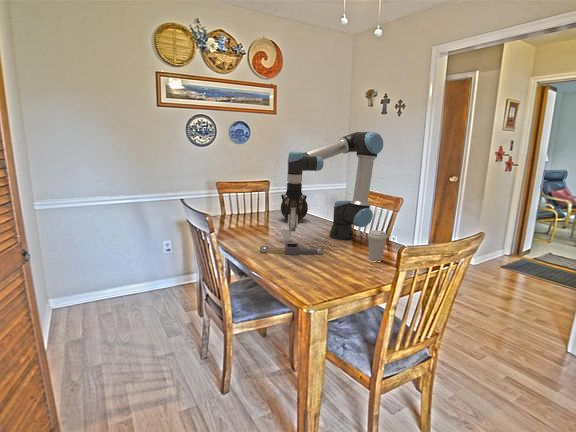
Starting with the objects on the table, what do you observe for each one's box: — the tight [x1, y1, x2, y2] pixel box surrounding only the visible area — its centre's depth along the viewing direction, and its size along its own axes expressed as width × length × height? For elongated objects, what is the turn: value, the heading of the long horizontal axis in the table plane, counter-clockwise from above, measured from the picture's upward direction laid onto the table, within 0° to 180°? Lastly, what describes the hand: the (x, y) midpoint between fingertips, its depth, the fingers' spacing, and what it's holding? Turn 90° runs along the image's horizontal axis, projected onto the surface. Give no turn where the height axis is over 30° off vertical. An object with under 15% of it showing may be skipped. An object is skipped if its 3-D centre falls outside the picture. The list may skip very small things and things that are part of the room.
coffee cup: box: [367, 229, 388, 262], centre depth 170 cm, size 10×10×15 cm
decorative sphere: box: [280, 196, 309, 221], centre depth 246 cm, size 20×20×20 cm
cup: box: [274, 226, 292, 243], centre depth 198 cm, size 7×10×8 cm
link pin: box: [289, 208, 297, 233], centre depth 175 cm, size 4×4×12 cm
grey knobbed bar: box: [259, 242, 325, 256], centre depth 179 cm, size 34×7×4 cm, turn 91°
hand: (292, 226), depth 176 cm, fingers closed on link pin, 4 cm apart
